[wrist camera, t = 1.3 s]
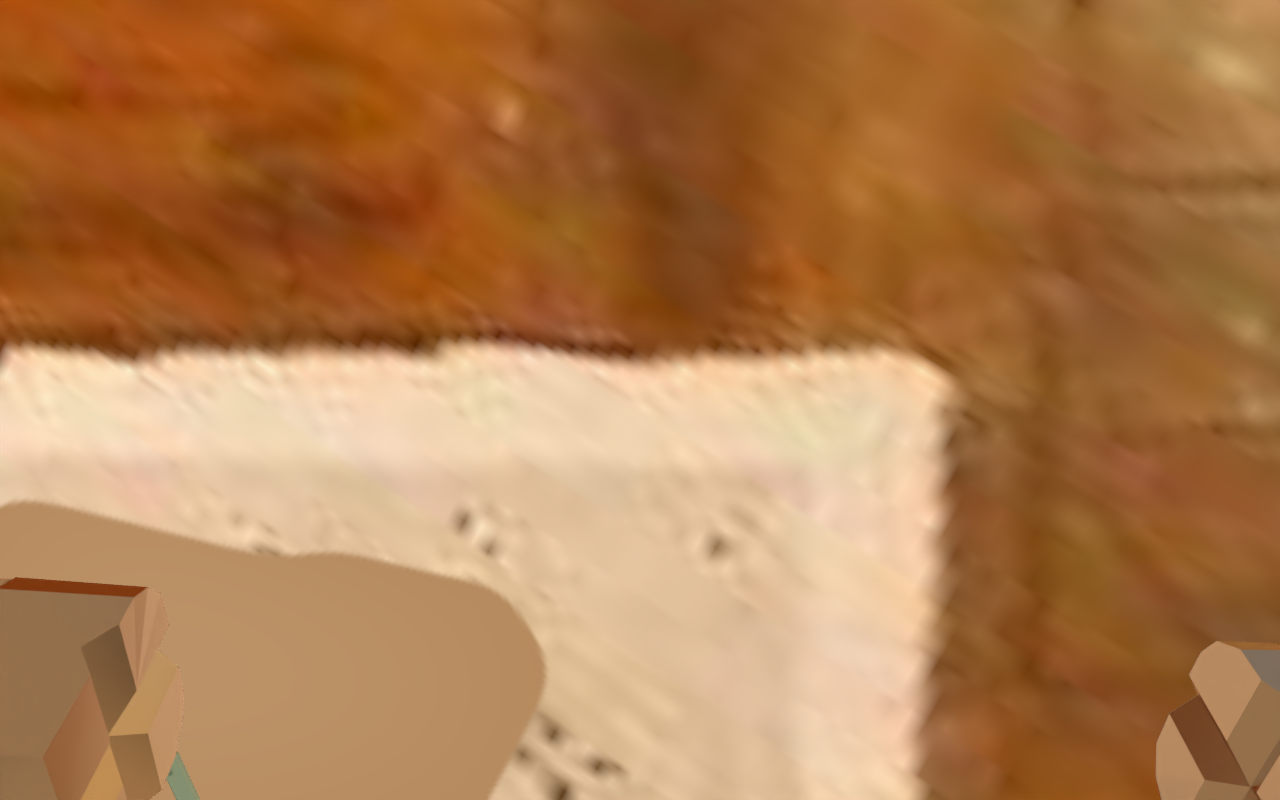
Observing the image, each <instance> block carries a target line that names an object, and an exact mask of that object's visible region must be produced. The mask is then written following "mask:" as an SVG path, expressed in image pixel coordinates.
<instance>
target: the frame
mask: <svg viewBox="0 0 1280 800" xmlns="http://www.w3.org/2000/svg"><path fill="white" fill-rule="evenodd" d="M166 779H167V781H168V783H169V785H170V787H171V789H172V791H173V794H174V796H175V798H176V800H200V798H199V796H198V794H197V792H196V790H195V788H194V786H193V783H192V781H191V779H190V777H189V775H188V773H187V770H186V768H185V766H184V764H183V762H182V760H181V757H180V755H179V753H176V757H175V759H174V762H173V764H172V766H171V769H170V771H169V774H168V776H167V778H166Z"/></svg>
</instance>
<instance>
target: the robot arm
mask: <svg viewBox="0 0 1280 800" xmlns="http://www.w3.org/2000/svg"><path fill="white" fill-rule="evenodd" d="M168 627H169V622H168V618H167V614H166V611H165V607H164V603H163V600H162V597H161V593H160V592H157V591H155V590H153V589H151V588H148V587H138V586H123V585H111V584H110V585H109V584H98V583H84V582H71V581H57V580H44V579H30V578H17V577H16V578H14V579H9V578H0V800H149V799H151V798H152V797H153V796H155V795H156V794H157V793H158V792H160V791H161V790H162V788H163V785H164V783H165V781H166V778H167V776H168V774H169V771H170V769H171V766H172V764H173V762H174V759H175V757H176V752H177V747H178V742H179V737H180V733H181V728H182V723H183V717H184V716H183V715H184V714H183V711H184V709H183V686H182V680H181V676H180V671H179V667H178V666H177V665H176V664H175V663H174V662H173V661H171V660H170V659H169V658H168V657H167V656H166V655H165V654H163V653H162V652H161V651H160V650H159V649H158V647H159V645H160V643H161V641H162V639H163V637H164V635H165V633H166V631H167V629H168ZM1189 676H1190V679H1191V681H1192V683H1193V685H1194V688H1195V690H1196V692H1197V694H1198V695H1197V696H1196V697H1194V698H1192V699H1191V700H1189V701H1188V702H1186V703H1185V704H1183V705H1182V706H1180V707H1179V708H1177V709H1176V710H1174V711H1173V712H1171V713H1170V714H1169V716H1168V718H1167V720H1166V722H1165V725H1164V727H1163V729H1162V732H1161V734H1160V736H1159V738H1158V741H1157V744H1156V779H1157V783H1158V787H1159V791H1160V796H1161V800H1280V643H1259V642H1235V641H1216V642H1215V643H1213V644H1212V645H1210V646H1209V647H1208V648H1206V649H1205V650H1203V651H1202V652H1201V653H1200V655H1199V657H1198V659H1197V661H1196V663H1195V664H1194V666H1193V668H1192V670H1191V672H1190V674H1189Z"/></svg>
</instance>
